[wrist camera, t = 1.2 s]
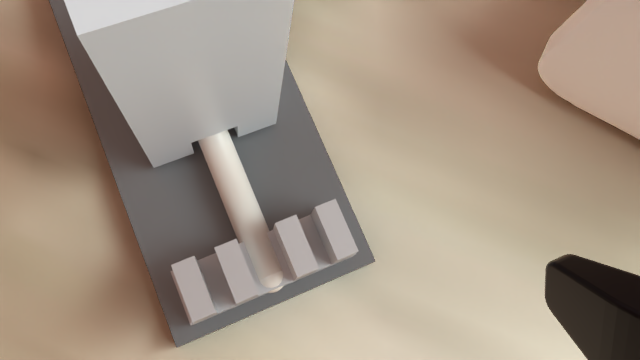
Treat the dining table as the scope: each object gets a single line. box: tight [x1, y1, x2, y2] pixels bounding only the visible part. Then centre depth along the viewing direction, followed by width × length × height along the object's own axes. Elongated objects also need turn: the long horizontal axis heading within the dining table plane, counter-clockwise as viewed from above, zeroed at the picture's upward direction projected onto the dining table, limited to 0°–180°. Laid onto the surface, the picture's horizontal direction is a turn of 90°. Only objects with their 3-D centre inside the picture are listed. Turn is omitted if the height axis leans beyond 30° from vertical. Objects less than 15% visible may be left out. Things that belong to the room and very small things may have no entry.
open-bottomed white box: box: [64, 0, 294, 168], centre depth 18 cm, size 5×5×10 cm
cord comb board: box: [49, 0, 375, 347], centre depth 23 cm, size 25×8×4 cm, turn 24°
